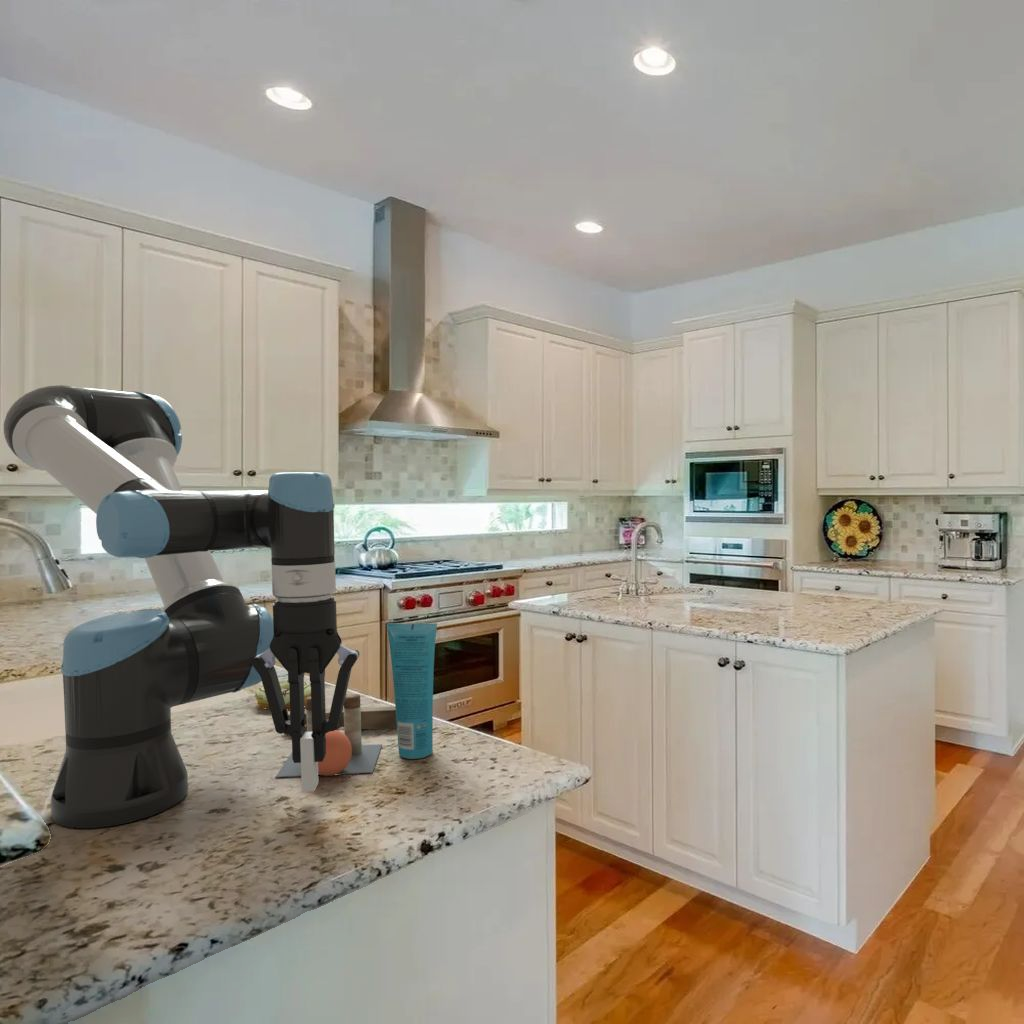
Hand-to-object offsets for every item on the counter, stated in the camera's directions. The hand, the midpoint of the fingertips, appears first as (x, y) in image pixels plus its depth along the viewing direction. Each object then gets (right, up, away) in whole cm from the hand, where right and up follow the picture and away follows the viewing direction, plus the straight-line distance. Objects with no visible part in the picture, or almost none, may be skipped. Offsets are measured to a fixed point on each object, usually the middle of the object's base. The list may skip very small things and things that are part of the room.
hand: (310, 787), depth 89 cm
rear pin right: (-4, -2, +16) cm, 17 cm away
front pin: (-1, 0, +13) cm, 13 cm away
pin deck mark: (-1, -2, +14) cm, 14 cm away
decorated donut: (-17, -2, +44) cm, 47 cm away
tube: (+11, -2, +16) cm, 20 cm away
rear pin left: (+2, -2, +17) cm, 17 cm away
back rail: (-2, -1, +28) cm, 29 cm away
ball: (0, +1, +9) cm, 9 cm away
